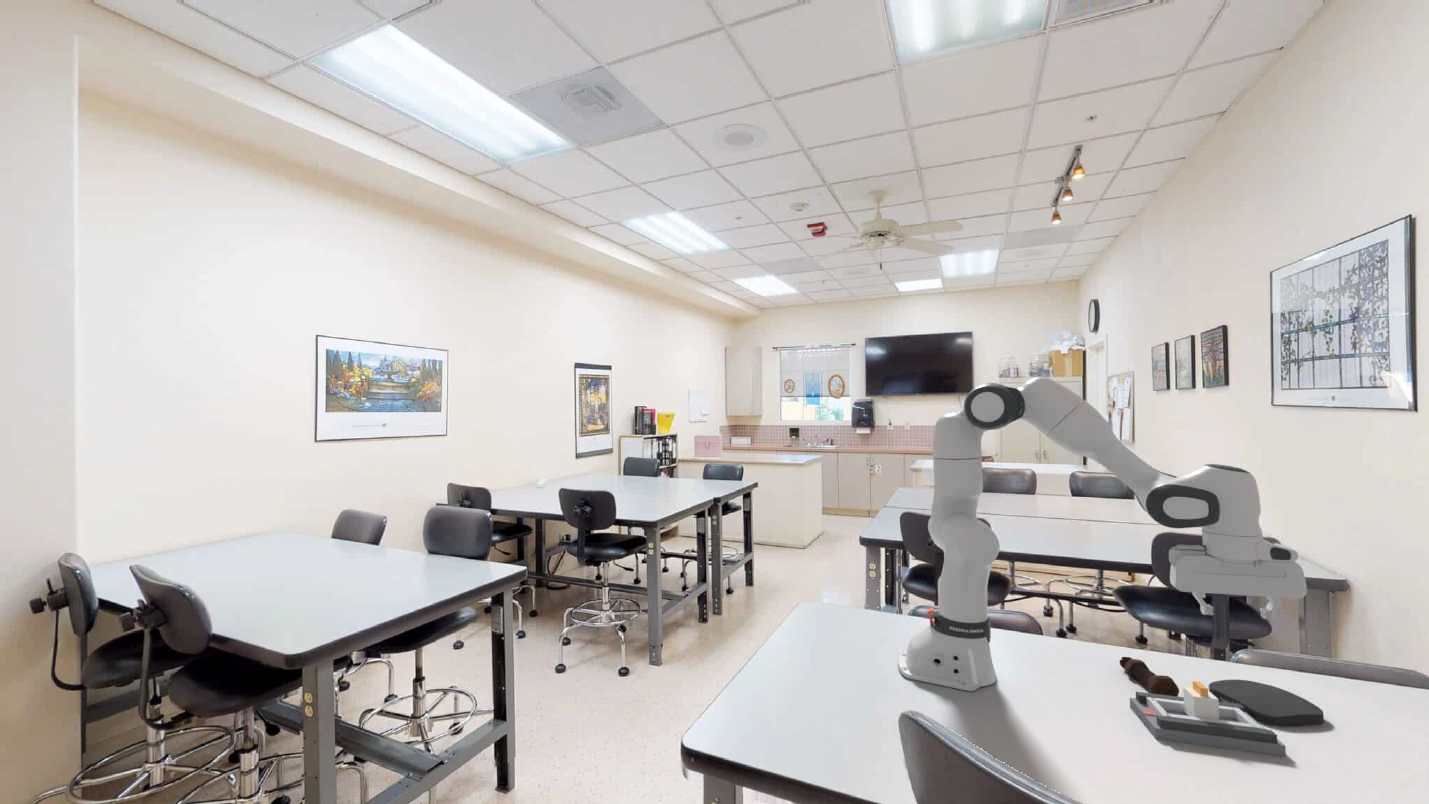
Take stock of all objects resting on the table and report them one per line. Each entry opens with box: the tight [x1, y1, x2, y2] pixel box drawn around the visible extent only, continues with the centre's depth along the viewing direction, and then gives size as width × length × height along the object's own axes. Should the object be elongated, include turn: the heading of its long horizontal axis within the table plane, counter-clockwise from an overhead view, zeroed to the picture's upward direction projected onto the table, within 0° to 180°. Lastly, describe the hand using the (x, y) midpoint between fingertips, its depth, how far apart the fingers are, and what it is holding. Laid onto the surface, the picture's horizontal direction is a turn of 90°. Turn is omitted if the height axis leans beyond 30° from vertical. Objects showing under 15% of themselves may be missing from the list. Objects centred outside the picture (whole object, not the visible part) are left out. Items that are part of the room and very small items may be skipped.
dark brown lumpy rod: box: [1119, 656, 1180, 697], centre depth 129 cm, size 6×5×15 cm
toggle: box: [1182, 680, 1219, 720], centre depth 110 cm, size 4×4×7 cm
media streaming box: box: [1208, 679, 1325, 728], centre depth 118 cm, size 15×15×3 cm
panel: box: [1129, 691, 1287, 757], centre depth 110 cm, size 20×12×4 cm, turn 72°
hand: (1237, 616), depth 109 cm, fingers open, 8 cm apart
